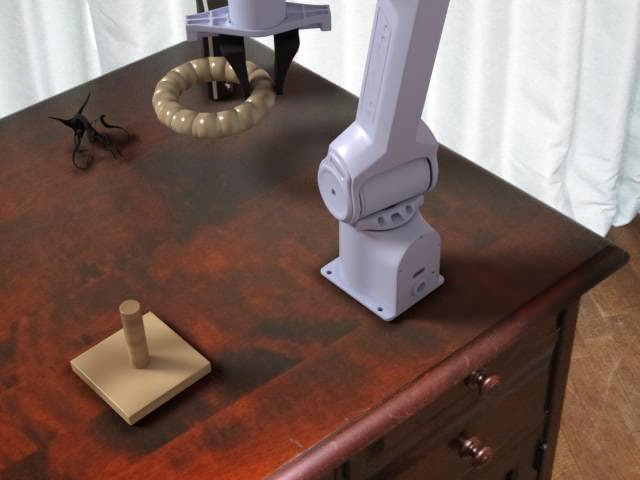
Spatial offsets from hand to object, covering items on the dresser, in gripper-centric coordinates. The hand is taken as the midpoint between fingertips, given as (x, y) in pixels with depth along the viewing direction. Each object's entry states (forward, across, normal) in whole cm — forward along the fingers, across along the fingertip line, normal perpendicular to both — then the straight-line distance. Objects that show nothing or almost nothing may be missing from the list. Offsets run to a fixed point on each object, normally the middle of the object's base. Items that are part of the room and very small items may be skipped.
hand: (263, 91), depth 121 cm
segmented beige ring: (0, +5, 0) cm, 5 cm away
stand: (+9, +14, +30) cm, 34 cm away
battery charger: (+9, +4, -15) cm, 18 cm away
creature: (+9, +19, -4) cm, 21 cm away
